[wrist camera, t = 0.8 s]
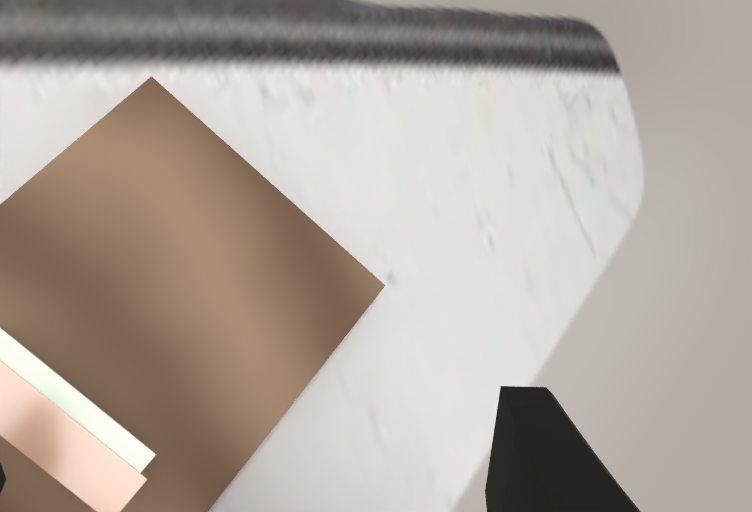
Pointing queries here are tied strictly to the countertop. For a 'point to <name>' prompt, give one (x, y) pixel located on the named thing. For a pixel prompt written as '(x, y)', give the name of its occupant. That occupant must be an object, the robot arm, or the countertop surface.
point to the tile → (67, 431)
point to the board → (169, 298)
